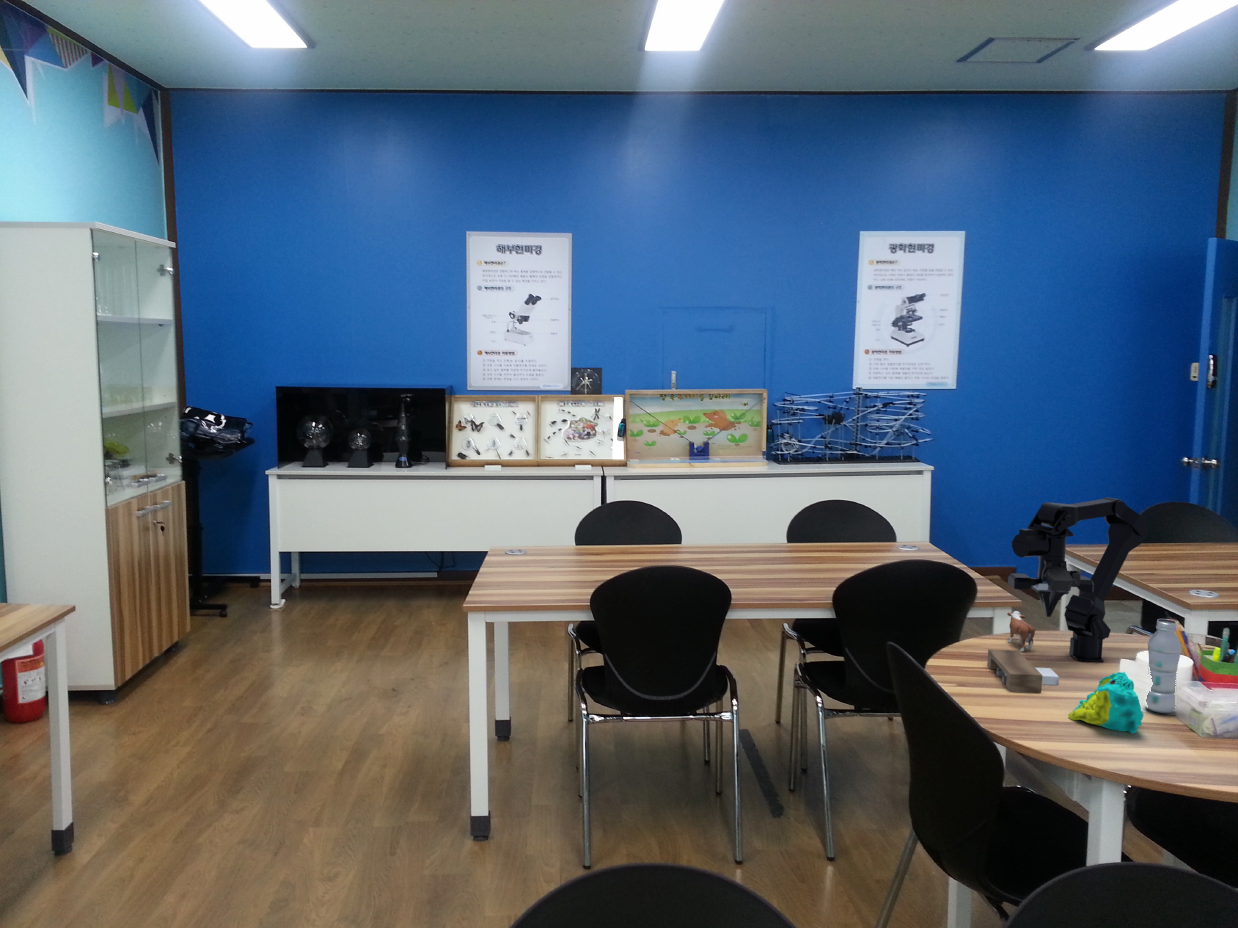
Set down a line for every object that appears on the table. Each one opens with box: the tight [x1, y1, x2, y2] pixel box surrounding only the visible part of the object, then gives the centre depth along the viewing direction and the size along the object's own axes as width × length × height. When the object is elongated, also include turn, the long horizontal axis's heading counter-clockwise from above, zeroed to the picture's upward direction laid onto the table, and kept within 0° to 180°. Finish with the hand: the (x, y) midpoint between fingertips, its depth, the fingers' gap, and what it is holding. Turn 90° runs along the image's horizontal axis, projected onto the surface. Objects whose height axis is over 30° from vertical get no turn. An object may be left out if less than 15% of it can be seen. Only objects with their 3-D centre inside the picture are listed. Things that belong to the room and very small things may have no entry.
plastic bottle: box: [1146, 618, 1182, 714], centre depth 204 cm, size 6×7×20 cm
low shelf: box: [987, 648, 1043, 694], centre depth 224 cm, size 7×18×4 cm, turn 174°
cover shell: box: [1002, 667, 1060, 686], centre depth 224 cm, size 11×6×2 cm, turn 84°
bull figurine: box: [1007, 610, 1036, 653], centre depth 250 cm, size 4×13×8 cm, turn 174°
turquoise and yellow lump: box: [1068, 671, 1144, 735], centre depth 197 cm, size 15×12×13 cm
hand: (1048, 616), depth 235 cm, fingers closed
